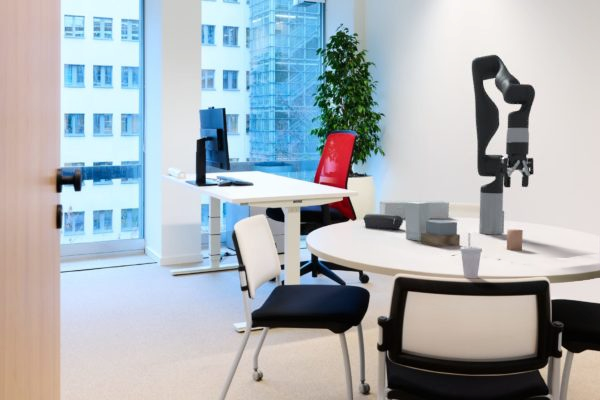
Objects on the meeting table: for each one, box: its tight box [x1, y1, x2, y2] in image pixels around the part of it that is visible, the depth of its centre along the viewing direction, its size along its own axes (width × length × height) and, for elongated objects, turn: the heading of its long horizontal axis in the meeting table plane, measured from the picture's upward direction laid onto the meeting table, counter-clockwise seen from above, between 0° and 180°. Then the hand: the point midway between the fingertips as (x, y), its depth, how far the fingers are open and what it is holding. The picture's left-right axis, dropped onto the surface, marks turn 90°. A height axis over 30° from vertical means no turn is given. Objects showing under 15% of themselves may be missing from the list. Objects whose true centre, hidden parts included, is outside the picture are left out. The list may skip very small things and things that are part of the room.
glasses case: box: [363, 213, 404, 231], centre depth 279 cm, size 18×10×8 cm, turn 61°
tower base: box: [420, 233, 461, 248], centre depth 239 cm, size 10×10×4 cm
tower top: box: [426, 219, 458, 235], centre depth 239 cm, size 8×8×4 cm
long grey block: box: [378, 200, 450, 219], centre depth 316 cm, size 32×11×11 cm, turn 97°
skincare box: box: [405, 202, 431, 242], centre depth 252 cm, size 8×6×15 cm
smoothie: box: [459, 232, 483, 279], centre depth 192 cm, size 6×6×14 cm
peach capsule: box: [506, 228, 524, 252], centre depth 228 cm, size 5×5×7 cm
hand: (516, 187), depth 227 cm, fingers open, 8 cm apart
